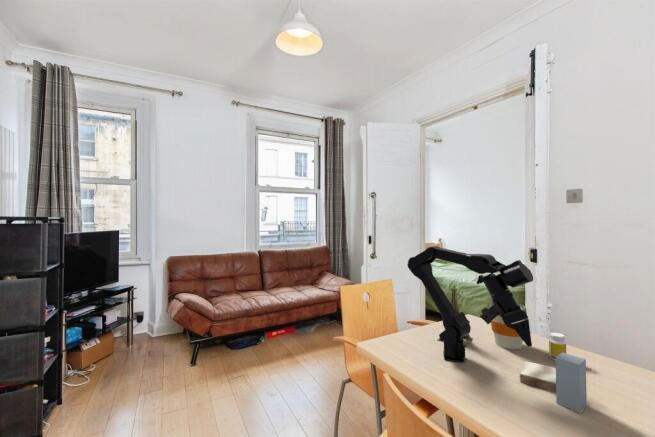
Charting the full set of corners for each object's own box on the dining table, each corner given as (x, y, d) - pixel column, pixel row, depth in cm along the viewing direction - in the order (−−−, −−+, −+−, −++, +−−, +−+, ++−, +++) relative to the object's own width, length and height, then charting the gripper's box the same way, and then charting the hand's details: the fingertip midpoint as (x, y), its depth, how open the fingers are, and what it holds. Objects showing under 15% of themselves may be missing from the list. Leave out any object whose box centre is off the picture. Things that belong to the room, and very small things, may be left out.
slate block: (556, 403, 80) (555, 357, 80) (563, 396, 83) (562, 352, 83) (580, 412, 76) (579, 364, 76) (586, 405, 79) (585, 359, 79)
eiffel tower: (472, 338, 123) (471, 277, 124) (464, 347, 115) (463, 281, 115) (446, 332, 130) (445, 274, 130) (437, 340, 122) (435, 278, 122)
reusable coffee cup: (527, 342, 119) (526, 303, 119) (528, 354, 108) (527, 312, 108) (491, 335, 126) (490, 299, 126) (488, 347, 115) (487, 307, 115)
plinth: (520, 381, 91) (520, 373, 91) (524, 368, 98) (524, 360, 98) (562, 393, 84) (562, 384, 84) (563, 378, 92) (563, 369, 92)
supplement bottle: (569, 362, 102) (569, 337, 102) (553, 361, 103) (553, 336, 103) (561, 356, 106) (561, 332, 106) (546, 355, 107) (546, 331, 107)
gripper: (475, 300, 106) (499, 347, 100) (473, 302, 89) (501, 358, 84) (508, 289, 102) (534, 336, 96) (512, 288, 86) (544, 345, 80)
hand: (528, 343), depth 89 cm, fingers open, 9 cm apart
